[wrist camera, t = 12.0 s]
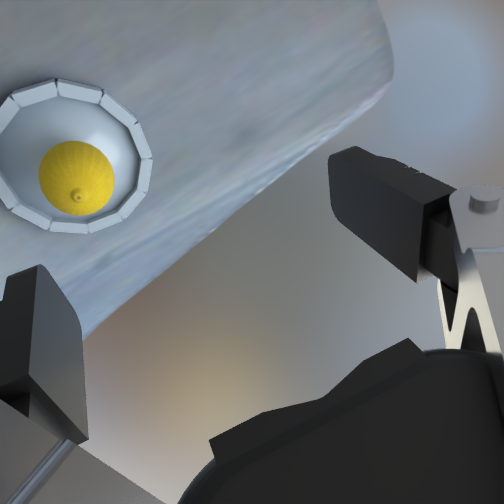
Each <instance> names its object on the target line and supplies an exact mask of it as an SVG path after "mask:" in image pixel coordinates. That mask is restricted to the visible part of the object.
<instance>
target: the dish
mask: <svg viewBox="0 0 504 504" xmlns="http://www.w3.org/2000/svg"><path fill="white" fill-rule="evenodd" d="M66 141H81V142H85V143H88V144H91V145H92V146H94V147H96V148H97V149H99V150H100V151H101V152H102V153H103V154H104V155H105V156H106V157H107V159H108V160H109V162H110V164H111V166H112V169H113V172H114V177H115V186H114V189H113V193H112V196H111V198H110V199H109V201H108V203H107V204H106V205H105V206H104V207H103V208H102V209H100V210H98V211H97V212H95V213H93V214H89V215H84V216H75V215H69V214H67V213H64V212H61V211H60V210H58V209H57V208H55V207H54V206H53V205H52V204H51V203H50V202H49V201H48V200H47V199H46V197H45V195H44V194H43V192H42V190H41V187H40V183H39V179H38V174H39V166H40V163H41V161H42V158H43V157H44V155H45V154H46V153H47V151H48V150H50V149H51V148H52V147H54V146H55V145H57V144H60V143H62V142H66ZM152 162H153V159H152V154H151V152H150V149H149V146H148V144H147V141H146V139H145V136H144V134H143V131H142V129H141V126H140V124H139V122H138V120H137V119H136V117H135V116H134V115H133V114H132V113H131V112H130V111H128V110H127V109H126V108H125V107H124V106H122V105H121V104H120V103H119V102H118V101H116V100H115V99H114V98H113V97H112V96H111V95H109V94H108V93H107V92H106V91H105V90H103V91H101V88H99V87H94V86H90V85H85V84H81V83H77V82H72V81H68V80H64V79H59V78H58V81H55V79H54V78H53V79H50V80H47V81H44V82H40V83H37V84H34V85H31V86H27V87H24V88H21V89H18V90H14V91H13V93H10V94H9V96H8V97H7V98H6V100H5V101H4V102H3V104H2V105H1V106H0V198H1V200H2V201H3V203H4V204H5V205H6V207H7V208H8V209H10V208H12V209H11V212H13V213H15V214H17V215H18V216H20V217H22V218H24V219H26V220H28V221H30V222H32V223H34V224H35V225H37V226H39V227H41V228H43V229H45V230H47V229H48V228H49V227H50V231H54V232H69V233H85V234H88V230H89V231H90V233H92V232H95V231H98V230H100V229H103V228H105V227H108V226H111V225H113V224H116V223H118V222H121V221H123V219H122V217H123V218H124V219H126V218H127V216H128V215H129V214H130V213H131V212H132V211H133V209H134V208H135V207H136V206H137V205H138V204H139V202H140V201H141V200H142V199H143V198H144V197H145V196H146V193H145V192H148V186H149V180H150V174H151V168H152Z"/></svg>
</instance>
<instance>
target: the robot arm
mask: <svg viewBox="0 0 504 504" xmlns="http://www.w3.org/2000/svg"><path fill="white" fill-rule="evenodd" d="M328 174H329V186H330V199H331V207H332V210H333V212H334V214H335V216H336V218H337V219H338V221H339V222H341V223H342V224H343V225H344V226H345V227H347V228H348V229H349V230H351V231H352V232H353V233H354V234H355V235H357V236H358V237H359V238H360V239H362V240H363V241H364V242H365V243H367V244H368V245H369V246H370V247H372V248H373V249H374V250H375V251H377V252H378V253H379V254H380V255H382V256H383V257H384V258H385V259H387V260H388V261H389V262H390V263H392V264H393V265H394V266H395V267H397V268H398V269H399V270H400V271H402V272H403V273H404V274H405V275H407V276H408V277H409V278H411V279H412V280H413V281H414V282H416V283H419V282H421V281H423V280H425V279H427V278H429V277H431V276H433V275H434V276H436V277H437V278H438V284H437V291H438V297H439V304H440V310H441V317H442V322H443V329H444V336H445V343H446V349H432V350H424V351H421V350H420V349H419V348H418V347H417V346H416V345H415V344H414V343H413V342H412V341H411V340H410V339H409V338H407V339H405V340H403V341H401V342H399V343H397V344H395V345H393V346H391V347H389V348H387V349H385V350H383V351H381V352H380V353H378V354H376V355H374V356H372V357H370V358H368V359H366V360H364V361H363V362H361V363H360V364H359V365H358V366H357V367H356V368H355V369H354V370H353V371H352V372H351V373H349V375H347V376H346V377H345V378H344V379H343V380H342V381H341V382H340V383H339V384H338V385H336V386H335V387H334V388H333V389H332V390H331V391H330V392H329V393H328V394H327V395H325V396H324V397H322V398H320V399H317V400H313V401H309V402H305V403H301V404H296V405H292V406H288V407H284V408H279V409H275V410H271V411H267V412H263V413H260V414H259V415H257V416H255V417H253V418H251V419H249V420H247V421H245V422H243V423H241V424H239V425H237V426H235V427H233V428H232V429H229V430H227V431H225V432H223V433H222V434H220V435H218V436H216V437H214V438H212V439H210V440H209V442H210V446H211V448H212V451H213V454H214V457H215V458H214V459H213V460H211V461H210V462H209V463H208V464H207V465H206V466H205V467H204V468H203V469H202V470H201V472H199V474H198V475H197V476H196V477H195V478H194V479H193V481H192V482H191V483H190V485H189V486H188V488H187V489H186V490H185V492H184V493H183V495H182V497H181V498H180V500H179V502H178V504H504V188H501V187H496V186H491V185H472V186H467V187H463V188H460V189H458V190H457V189H455V188H453V187H451V186H449V185H447V184H444V183H443V182H441V181H439V180H437V179H434V178H432V177H430V176H428V175H426V174H424V173H420V172H419V171H418V170H416V169H414V168H411V167H410V168H408V166H407V165H405V164H403V163H401V162H399V161H397V160H395V159H391V158H386V157H380V156H376V155H374V154H372V153H369V152H368V151H366V150H364V149H362V148H360V147H357V146H353V147H350V148H348V149H345V150H343V151H340V152H337V153H334V154H332V155H330V157H329V159H328ZM83 362H84V361H83V346H82V331H81V325H80V322H79V319H78V317H77V314H76V312H75V310H74V309H73V307H72V306H71V304H70V303H69V301H68V300H67V298H66V297H65V295H64V294H63V292H62V291H61V289H60V288H59V286H58V285H57V283H56V282H55V281H54V279H53V278H52V276H51V275H50V273H49V272H48V270H47V269H46V268H45V267H44V266H43V265H41V264H39V265H36V266H34V267H31V268H29V269H26V270H23V271H21V272H18V273H15V274H13V275H10V276H8V277H7V279H6V284H5V289H4V295H3V300H2V301H0V504H165V503H163V502H162V501H160V500H159V499H157V498H156V497H155V496H153V495H151V494H150V493H149V492H147V491H145V490H144V489H143V488H141V487H139V486H138V485H136V484H135V483H133V482H132V481H130V480H129V479H127V478H126V477H125V476H123V475H122V474H120V473H118V472H117V471H115V470H114V469H113V468H111V467H110V466H108V465H107V464H105V463H103V462H102V461H100V460H99V459H98V458H96V457H94V456H93V455H91V454H90V453H88V452H87V451H85V450H84V449H83V448H81V447H80V446H78V445H79V444H81V443H83V442H85V441H87V440H89V437H88V422H87V407H86V393H85V376H84V363H83Z"/></svg>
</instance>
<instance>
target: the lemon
mask: <svg viewBox="0 0 504 504" xmlns="http://www.w3.org/2000/svg"><path fill="white" fill-rule="evenodd" d="M38 179H39V183H40V187H41V190H42V192H43V194H44V195H45V197H46V199H47V200H48V201H49V202H50V203H51V204H52V205H53V206H54V207H55V208H57V209H58V210H60V211H61V212H64V213H67V214H69V215H75V216H84V215H89V214H93V213H95V212H97V211H98V210H100V209H102V208H103V207H104V206H105V205H106V204H107V203H108V201H109V199H110V198H111V196H112V193H113V189H114V186H115V177H114V172H113V169H112V166H111V164H110V162H109V160H108V159H107V157H106V156H105V155H104V154H103V153H102V152H101V151H100V150H99V149H97V148H96V147H94V146H92V145H91V144H88V143H85V142H81V141H66V142H62V143H60V144H57V145H55V146H54V147H52V148H51V149H50V150H48V151H47V153H46V154H45V155H44V157H43V158H42V161H41V163H40V166H39V174H38Z"/></svg>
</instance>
